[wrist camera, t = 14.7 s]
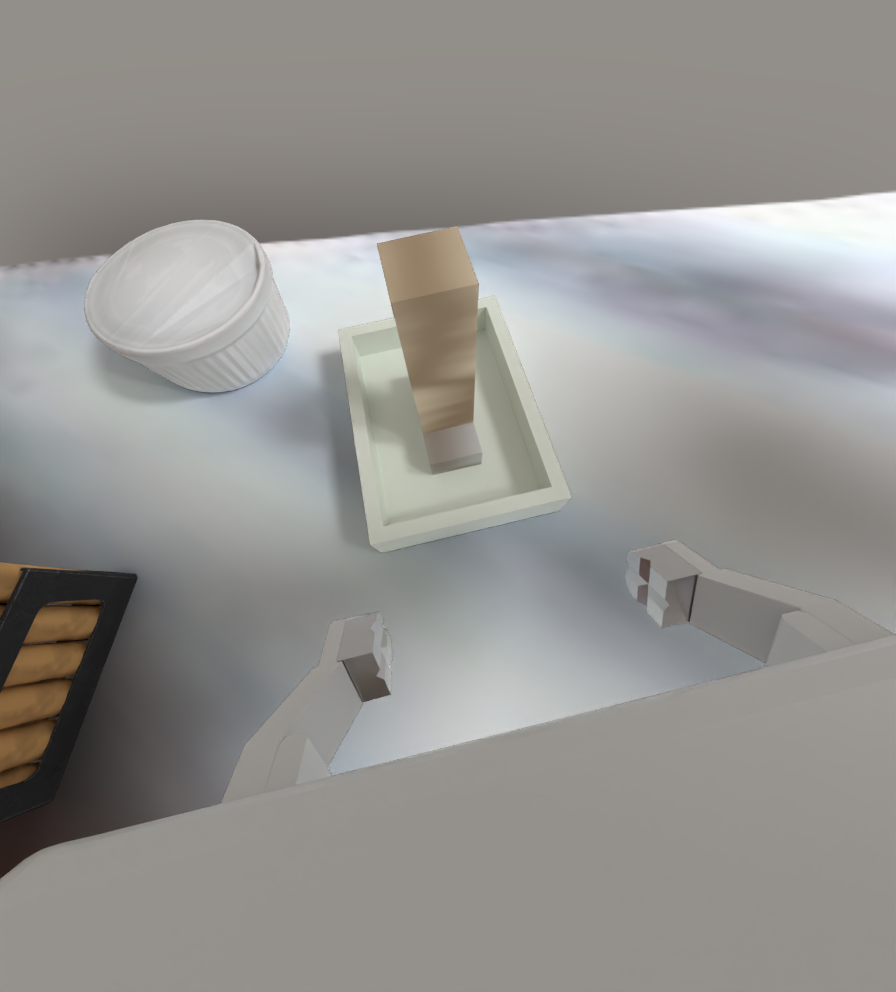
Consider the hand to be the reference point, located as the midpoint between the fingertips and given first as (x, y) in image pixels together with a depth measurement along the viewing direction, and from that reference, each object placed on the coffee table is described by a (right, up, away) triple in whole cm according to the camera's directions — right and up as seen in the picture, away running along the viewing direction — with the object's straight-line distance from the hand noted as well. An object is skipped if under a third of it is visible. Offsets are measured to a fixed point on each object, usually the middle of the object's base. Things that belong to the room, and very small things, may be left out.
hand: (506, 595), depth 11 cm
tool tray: (-2, +8, +11) cm, 13 cm away
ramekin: (-18, +15, +14) cm, 27 cm away
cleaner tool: (-2, +8, +10) cm, 13 cm away
